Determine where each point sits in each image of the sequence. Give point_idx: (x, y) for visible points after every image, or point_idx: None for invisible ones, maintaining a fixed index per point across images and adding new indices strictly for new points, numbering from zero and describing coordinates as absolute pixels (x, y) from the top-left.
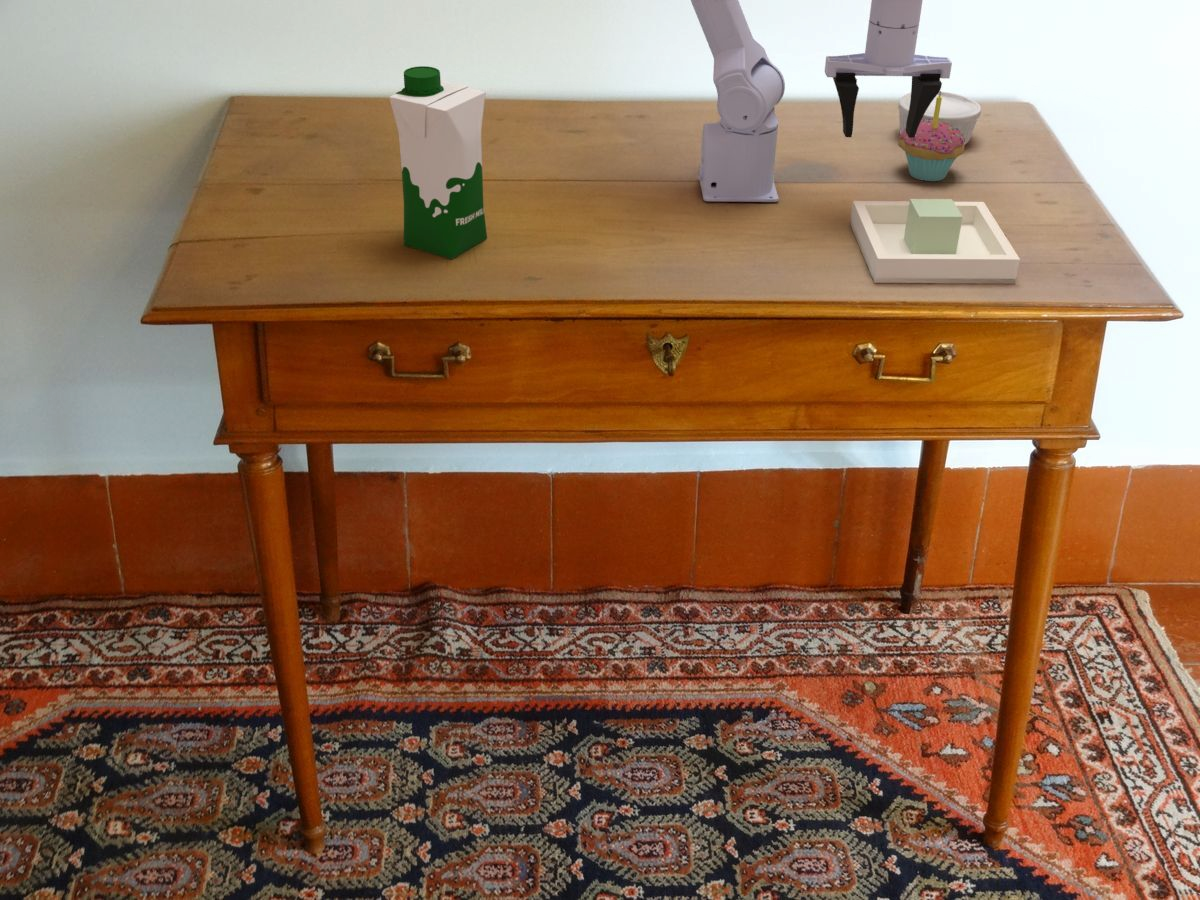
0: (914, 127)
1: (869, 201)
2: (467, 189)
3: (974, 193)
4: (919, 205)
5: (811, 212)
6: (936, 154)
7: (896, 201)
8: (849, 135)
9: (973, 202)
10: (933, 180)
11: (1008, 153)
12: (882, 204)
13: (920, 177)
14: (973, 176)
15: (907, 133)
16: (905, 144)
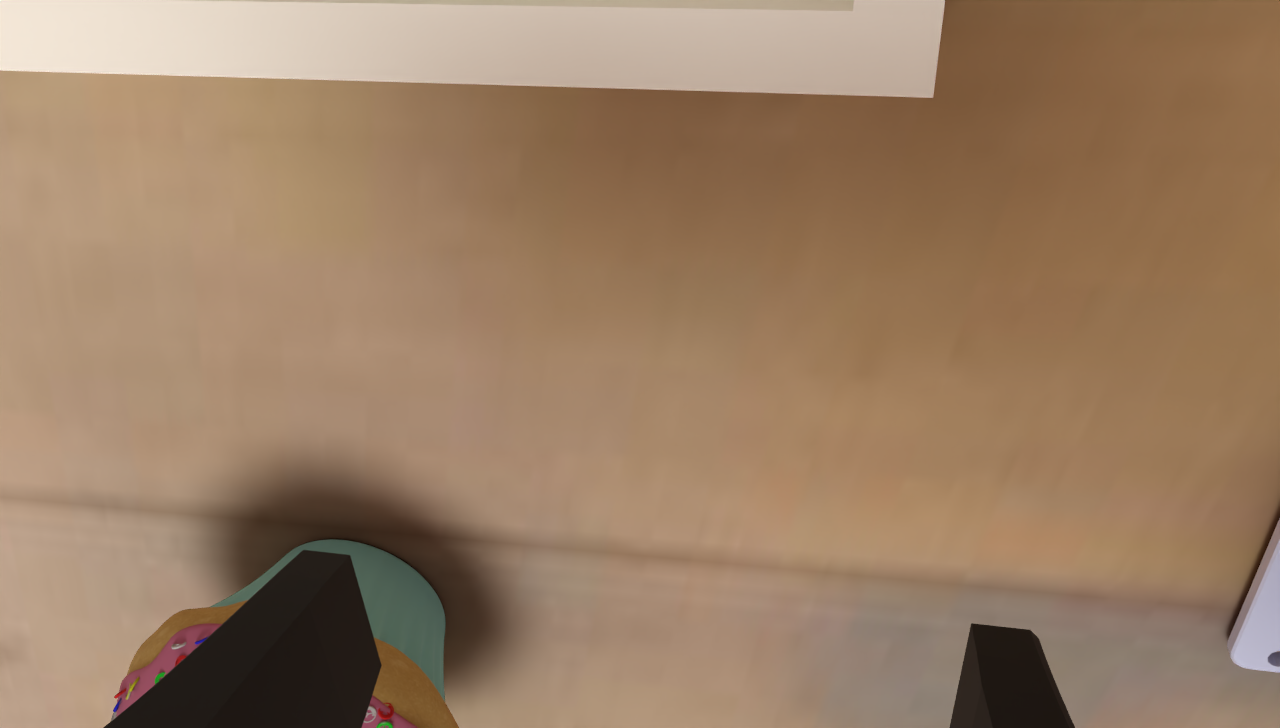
0: (256, 624)
1: (791, 82)
2: None
3: (133, 408)
4: None
5: (1152, 223)
6: None
7: (567, 83)
8: (1001, 639)
9: (9, 59)
10: (333, 540)
11: (45, 716)
12: (692, 19)
13: (394, 565)
14: (156, 565)
15: (362, 624)
16: None
